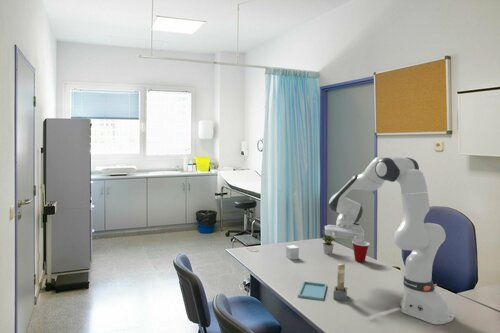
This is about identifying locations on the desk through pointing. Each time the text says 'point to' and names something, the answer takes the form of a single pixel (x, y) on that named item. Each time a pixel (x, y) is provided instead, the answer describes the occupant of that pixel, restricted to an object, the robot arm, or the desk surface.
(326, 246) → the house plant
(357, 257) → the plastic cup
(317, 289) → the tray
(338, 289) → the beech pin
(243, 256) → the desk surface
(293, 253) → the product box
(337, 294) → the square cup
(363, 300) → the desk surface
